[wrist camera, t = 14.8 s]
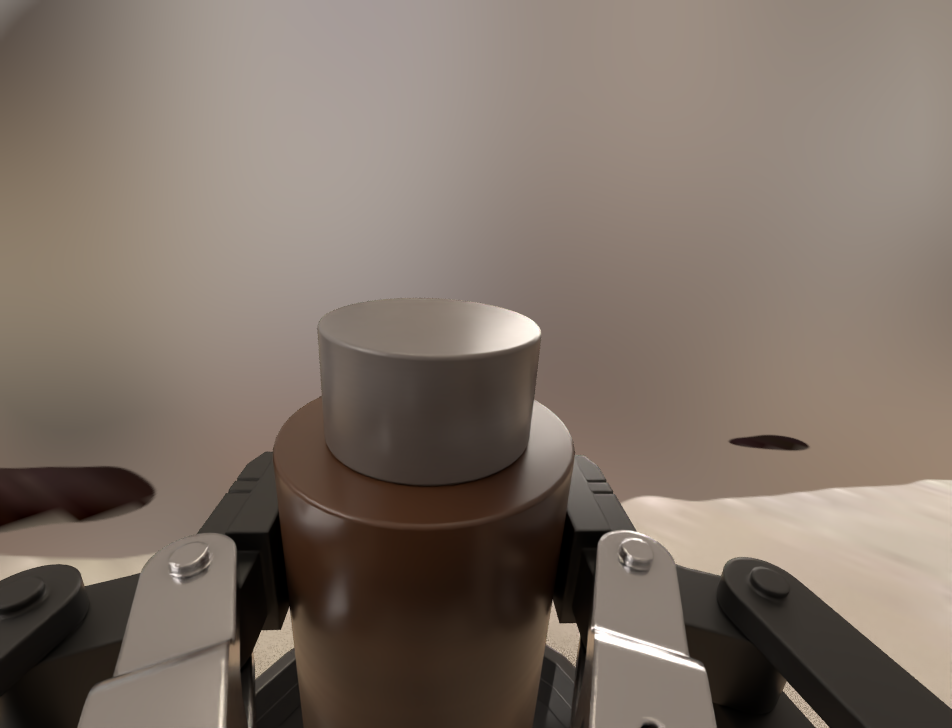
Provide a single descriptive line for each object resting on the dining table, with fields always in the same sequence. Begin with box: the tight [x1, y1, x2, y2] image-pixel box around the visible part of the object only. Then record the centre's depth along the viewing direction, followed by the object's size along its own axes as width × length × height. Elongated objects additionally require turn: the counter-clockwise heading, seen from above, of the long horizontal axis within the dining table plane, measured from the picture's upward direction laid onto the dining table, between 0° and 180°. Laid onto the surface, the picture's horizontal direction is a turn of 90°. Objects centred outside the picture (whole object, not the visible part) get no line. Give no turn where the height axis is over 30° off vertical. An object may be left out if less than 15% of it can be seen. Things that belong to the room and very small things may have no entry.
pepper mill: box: [273, 298, 575, 728], centre depth 9 cm, size 5×5×11 cm
